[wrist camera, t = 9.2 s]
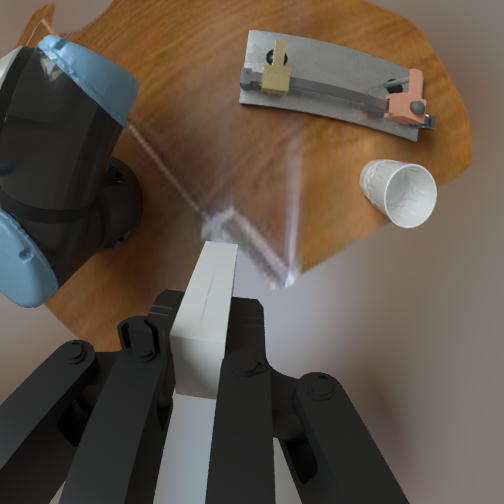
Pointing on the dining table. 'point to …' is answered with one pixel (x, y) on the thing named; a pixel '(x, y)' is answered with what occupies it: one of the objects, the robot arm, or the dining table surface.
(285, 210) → the dining table surface
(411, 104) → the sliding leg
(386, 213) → the white cup
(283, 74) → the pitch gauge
